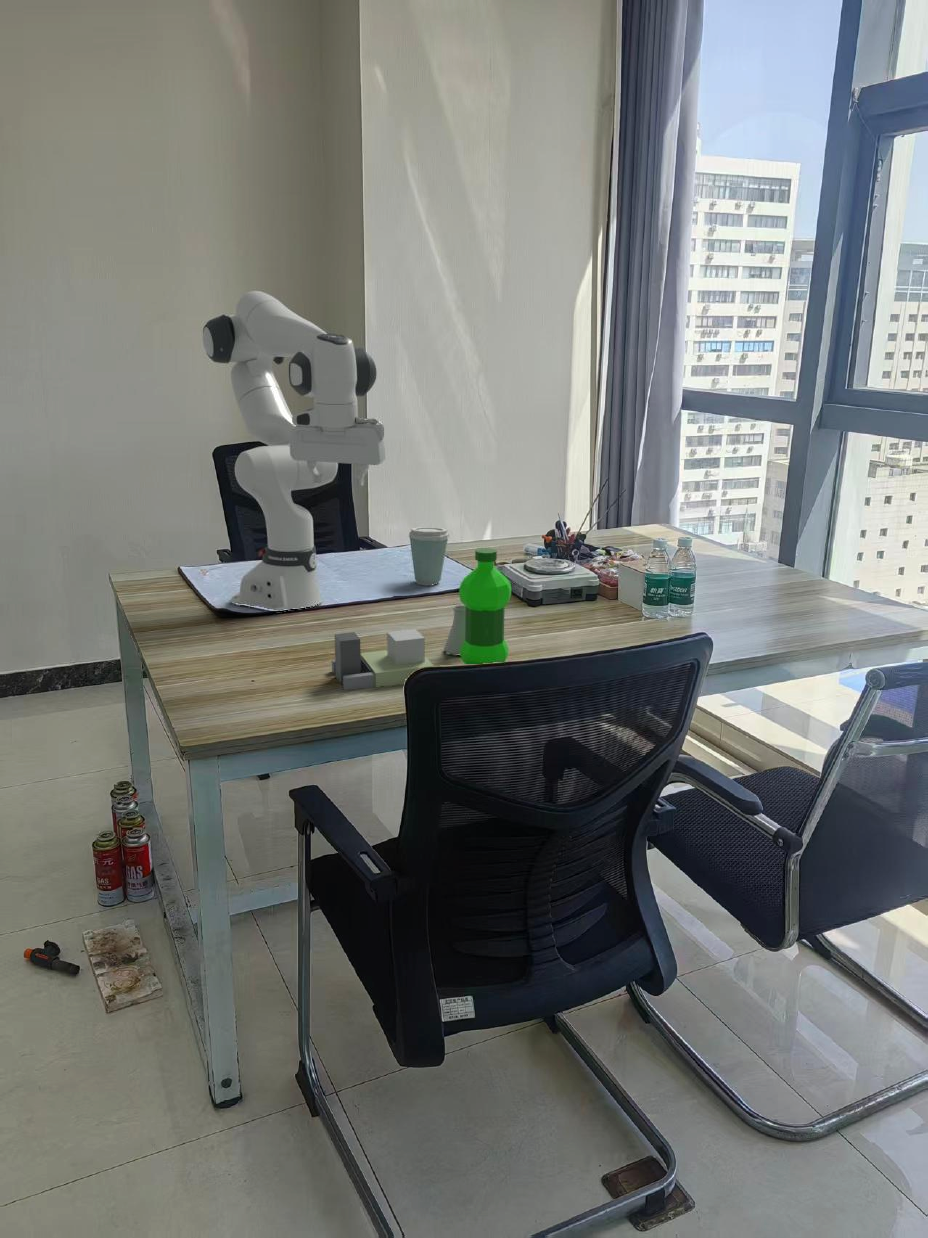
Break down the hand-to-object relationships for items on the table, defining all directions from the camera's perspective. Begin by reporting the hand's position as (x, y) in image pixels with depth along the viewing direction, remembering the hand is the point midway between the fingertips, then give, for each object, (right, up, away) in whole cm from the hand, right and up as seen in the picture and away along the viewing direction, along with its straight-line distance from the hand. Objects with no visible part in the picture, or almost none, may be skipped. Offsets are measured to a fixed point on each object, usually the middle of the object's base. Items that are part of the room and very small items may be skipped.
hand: (338, 483), depth 206 cm
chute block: (+3, -40, -10) cm, 42 cm away
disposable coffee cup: (+17, -19, +58) cm, 63 cm away
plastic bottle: (+30, -39, -4) cm, 49 cm away
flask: (+25, -35, +6) cm, 44 cm away
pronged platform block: (+11, -39, -7) cm, 42 cm away
